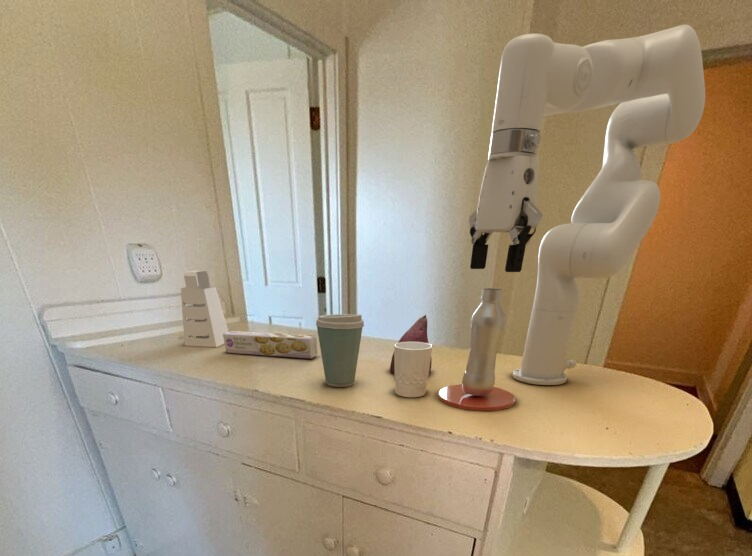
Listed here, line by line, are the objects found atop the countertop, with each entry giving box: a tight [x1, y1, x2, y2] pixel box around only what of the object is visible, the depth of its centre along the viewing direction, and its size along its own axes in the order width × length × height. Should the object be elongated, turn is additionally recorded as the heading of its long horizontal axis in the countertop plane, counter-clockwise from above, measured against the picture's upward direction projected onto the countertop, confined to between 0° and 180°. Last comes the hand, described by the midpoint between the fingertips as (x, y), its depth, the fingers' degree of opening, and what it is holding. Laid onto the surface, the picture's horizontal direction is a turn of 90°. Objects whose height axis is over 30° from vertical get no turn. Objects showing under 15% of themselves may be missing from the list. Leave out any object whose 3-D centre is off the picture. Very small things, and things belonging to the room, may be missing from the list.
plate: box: [437, 383, 516, 412], centre depth 91 cm, size 16×16×1 cm
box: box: [223, 330, 319, 360], centre depth 121 cm, size 27×5×6 cm, turn 73°
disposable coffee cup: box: [315, 313, 365, 388], centre depth 95 cm, size 11×11×15 cm
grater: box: [180, 270, 230, 348], centre depth 130 cm, size 10×10×20 cm
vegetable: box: [389, 314, 433, 375], centre depth 106 cm, size 10×10×15 cm
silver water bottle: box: [461, 287, 507, 396], centre depth 85 cm, size 6×7×20 cm
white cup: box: [393, 342, 433, 398], centre depth 91 cm, size 8×8×10 cm
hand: (494, 270), depth 78 cm, fingers open, 9 cm apart
